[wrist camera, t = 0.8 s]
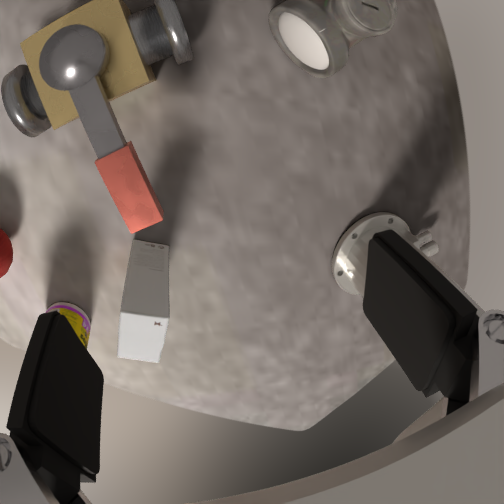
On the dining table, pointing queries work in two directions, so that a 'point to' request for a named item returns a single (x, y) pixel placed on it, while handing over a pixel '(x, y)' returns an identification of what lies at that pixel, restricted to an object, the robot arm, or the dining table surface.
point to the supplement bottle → (74, 319)
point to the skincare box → (145, 303)
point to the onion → (5, 253)
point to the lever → (100, 119)
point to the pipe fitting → (328, 30)
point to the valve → (118, 68)
